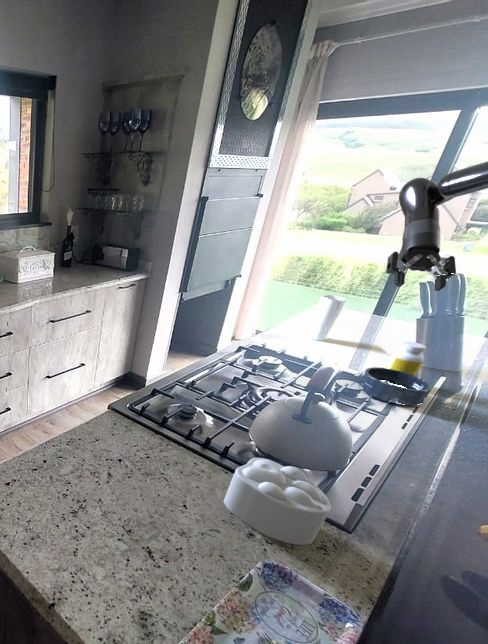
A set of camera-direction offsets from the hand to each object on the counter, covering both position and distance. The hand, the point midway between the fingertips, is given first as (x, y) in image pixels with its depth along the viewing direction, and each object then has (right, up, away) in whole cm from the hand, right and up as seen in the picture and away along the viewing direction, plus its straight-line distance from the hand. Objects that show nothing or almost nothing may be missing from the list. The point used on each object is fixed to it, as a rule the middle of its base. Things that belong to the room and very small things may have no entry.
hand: (419, 287), depth 113 cm
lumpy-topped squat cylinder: (-73, -49, -43) cm, 98 cm away
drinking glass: (-4, -12, +31) cm, 33 cm away
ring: (-13, -30, -5) cm, 33 cm away
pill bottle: (-5, -27, +2) cm, 27 cm away
